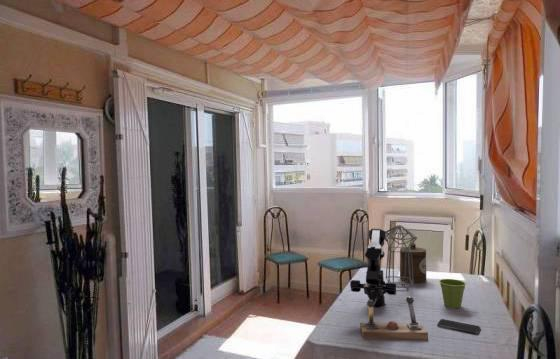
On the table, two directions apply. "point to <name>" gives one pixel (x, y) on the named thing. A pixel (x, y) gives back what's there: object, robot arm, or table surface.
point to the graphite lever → (411, 310)
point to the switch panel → (393, 331)
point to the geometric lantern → (397, 251)
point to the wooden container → (418, 264)
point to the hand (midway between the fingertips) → (372, 306)
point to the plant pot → (452, 292)
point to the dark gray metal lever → (371, 312)
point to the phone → (459, 326)
